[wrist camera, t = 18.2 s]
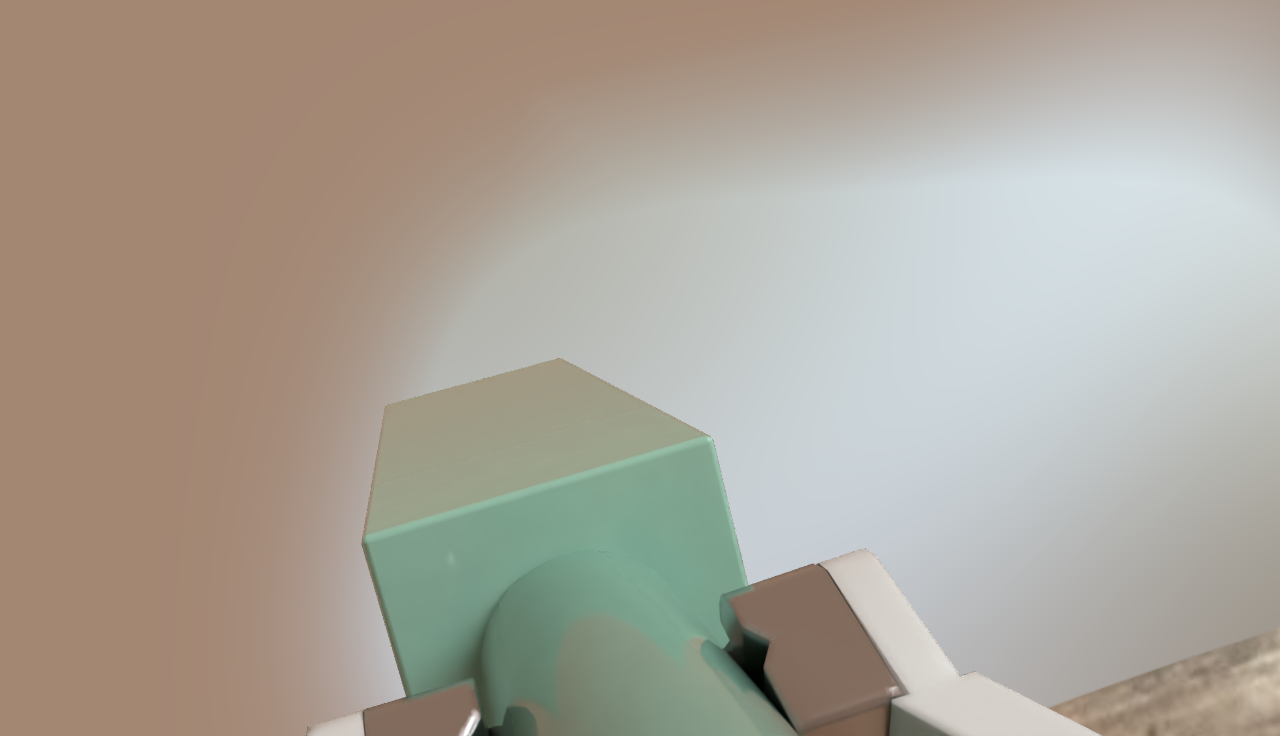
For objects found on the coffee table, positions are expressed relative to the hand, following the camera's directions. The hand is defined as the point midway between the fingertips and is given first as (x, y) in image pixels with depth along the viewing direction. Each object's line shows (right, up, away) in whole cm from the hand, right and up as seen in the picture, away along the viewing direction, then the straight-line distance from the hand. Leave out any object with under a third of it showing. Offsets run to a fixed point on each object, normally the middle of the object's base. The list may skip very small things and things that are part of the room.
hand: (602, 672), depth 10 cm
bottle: (0, -2, +5) cm, 5 cm away
